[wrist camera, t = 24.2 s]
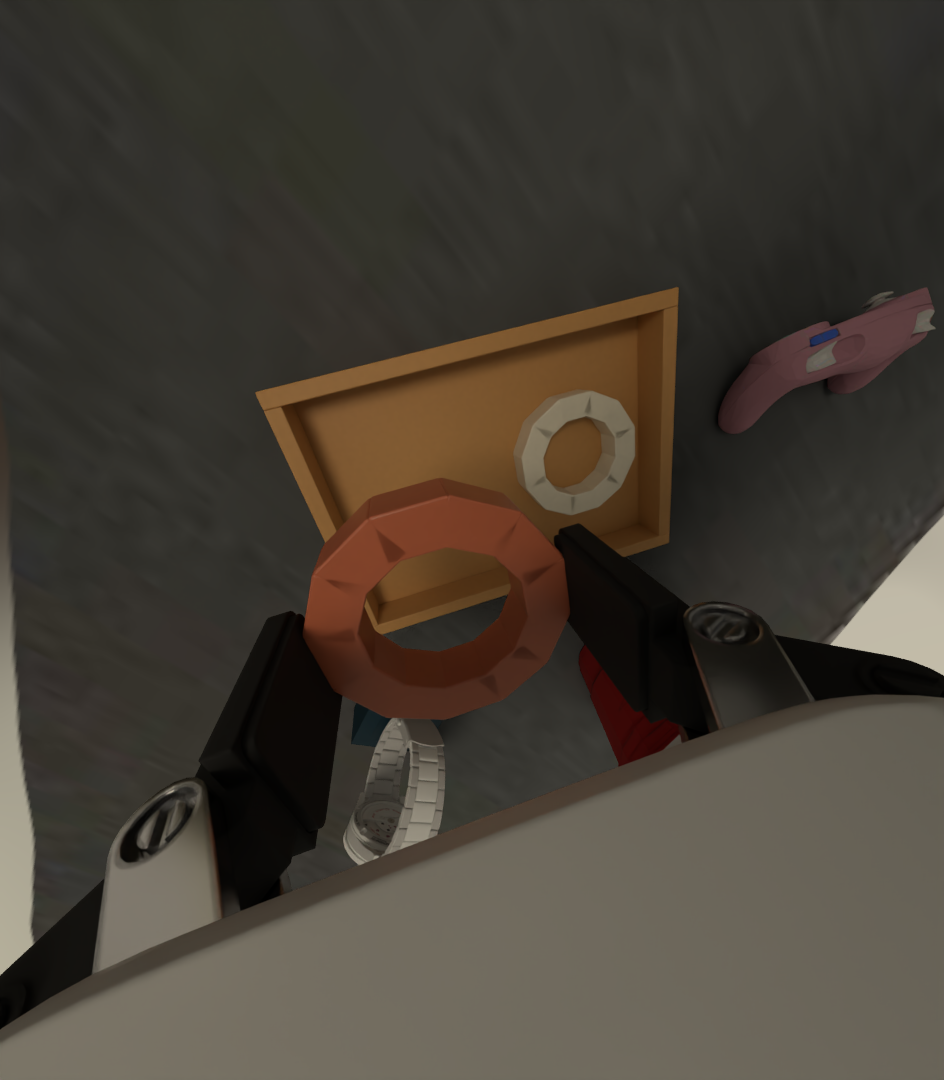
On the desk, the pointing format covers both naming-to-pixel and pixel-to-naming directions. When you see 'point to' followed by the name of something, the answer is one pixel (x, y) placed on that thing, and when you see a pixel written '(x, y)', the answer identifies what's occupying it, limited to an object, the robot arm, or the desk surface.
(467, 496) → the terracotta ring
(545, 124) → the desk surface
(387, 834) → the watch
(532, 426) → the cream ring
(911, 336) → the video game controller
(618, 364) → the tray
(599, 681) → the plastic cup
